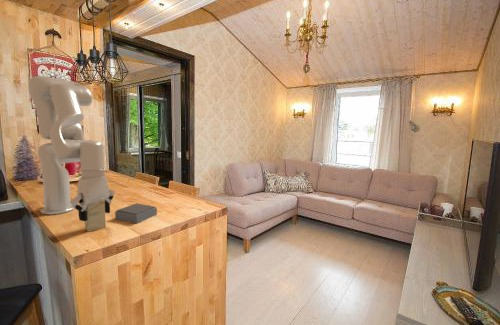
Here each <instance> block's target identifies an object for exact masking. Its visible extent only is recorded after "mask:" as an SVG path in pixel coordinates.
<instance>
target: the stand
mask: <svg viewBox="0 0 500 325" xmlns="http://www.w3.org/2000/svg"><path fill="white" fill-rule="evenodd" d="M157 209H158V208H157V206H153V205H149V204H142V203H138V202H137V203H134V204H130V205H128V206H125V207H122V208H119V209H117V210H115V211H114V215H115V217H114V219H115V220H118V221H121V222H128V223H132V224H136V225H137V224H140V223H142V222H144V221H146V220H148V219H150V218H152V217H155V216H157V215H158V210H157Z"/></svg>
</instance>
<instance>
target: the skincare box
mask: <svg viewBox="0 0 500 325" xmlns="http://www.w3.org/2000/svg"><path fill="white" fill-rule="evenodd" d="M85 211H87V221H84V230H86V231H87V232H92V231H97V230H101V229H106V213H105V198H103V199H99V202H96V203H94V204H90V205H88V206H87V207H86V209H85Z"/></svg>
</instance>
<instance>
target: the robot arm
mask: <svg viewBox="0 0 500 325" xmlns="http://www.w3.org/2000/svg"><path fill="white" fill-rule="evenodd" d="M28 93H29V95H30V98H31V101H32V102H33V104H34V106H35V109H36V115H37V122H38V130H39V135H40V136H41V138H43V139H44V140H46V141H47V140H48V141H49V140H50V142H48V143H44V144H43V143H42V144H41V145H40V146H38V148H37V156H38V159H39V163H40V167H41V176H42V185H43V186H42V189H43V201H42V203H41V204H42V205H43V206H44V207H42V208H41V209H40V213H41V214H42V215H60V214H65V213H68V212H69V213H70V212H72V211H73V210H76V211H78V219H79V221H82V222H85V221H87V211H85V209H86V207H87V206H88V205H90V204H94V203H96V202H99V199H103V198H105V214H110V213H111V206H110V205H111V203H112V200H113V198H114V195H115V193H116V192H115V191H116V190H112V189H110V188H109V183H108V179H107V176H106V175H105V173H106V172H107V169H106V168H105V157H104V156H105V155H104V145H103V143H102V142H101V141H94V140H91V139H85V137H84V130H83V126H82V124H81V122H83V120H84V118H85V117H84V113H83V110H82V107H90V106H91V104H92V103H93V94H92V92H91V90H90V89H89V88H88V87H87V86H85V85H83V84H81V83H79V82H77V81H73V80H72V81H71V80H65V79H61V78H56V77H49V76H39V75H37V76H32V77H31V78H30V79H29V81H28ZM70 163H80V178H79V179H78V182H77V189H76V190H77V191H76V194H77V196H75V197H74V198H73V199H71V186H70V173H69V170H68V169H67V168H65V167H64V166H63V164H70Z"/></svg>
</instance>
